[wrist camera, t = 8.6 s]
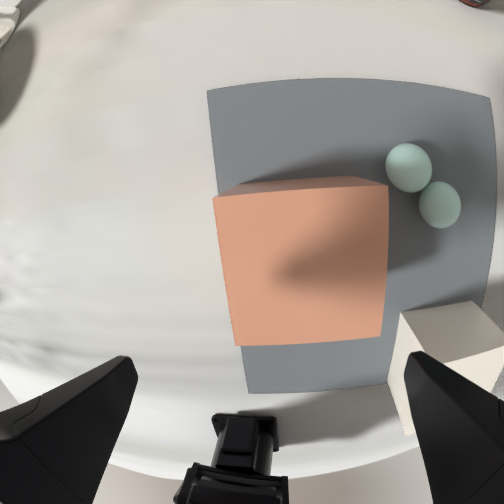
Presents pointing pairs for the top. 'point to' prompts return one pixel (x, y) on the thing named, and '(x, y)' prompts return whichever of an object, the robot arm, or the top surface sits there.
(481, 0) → the supplement bottle
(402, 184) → the marble
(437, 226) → the marble
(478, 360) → the ivory rectangular chunk
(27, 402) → the robot arm
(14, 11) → the beer glass
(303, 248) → the salmon pink cube
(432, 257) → the mat
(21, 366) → the top surface
